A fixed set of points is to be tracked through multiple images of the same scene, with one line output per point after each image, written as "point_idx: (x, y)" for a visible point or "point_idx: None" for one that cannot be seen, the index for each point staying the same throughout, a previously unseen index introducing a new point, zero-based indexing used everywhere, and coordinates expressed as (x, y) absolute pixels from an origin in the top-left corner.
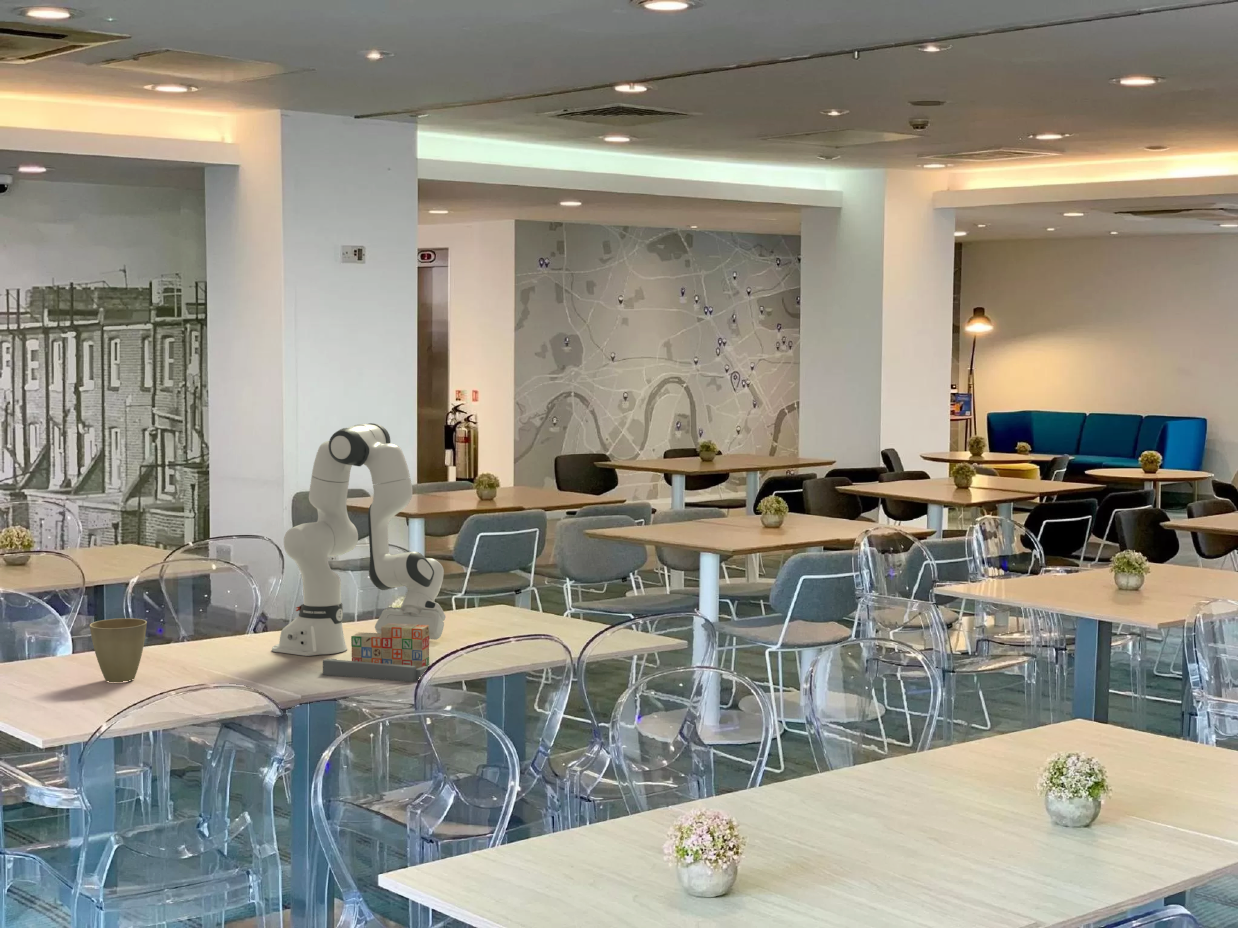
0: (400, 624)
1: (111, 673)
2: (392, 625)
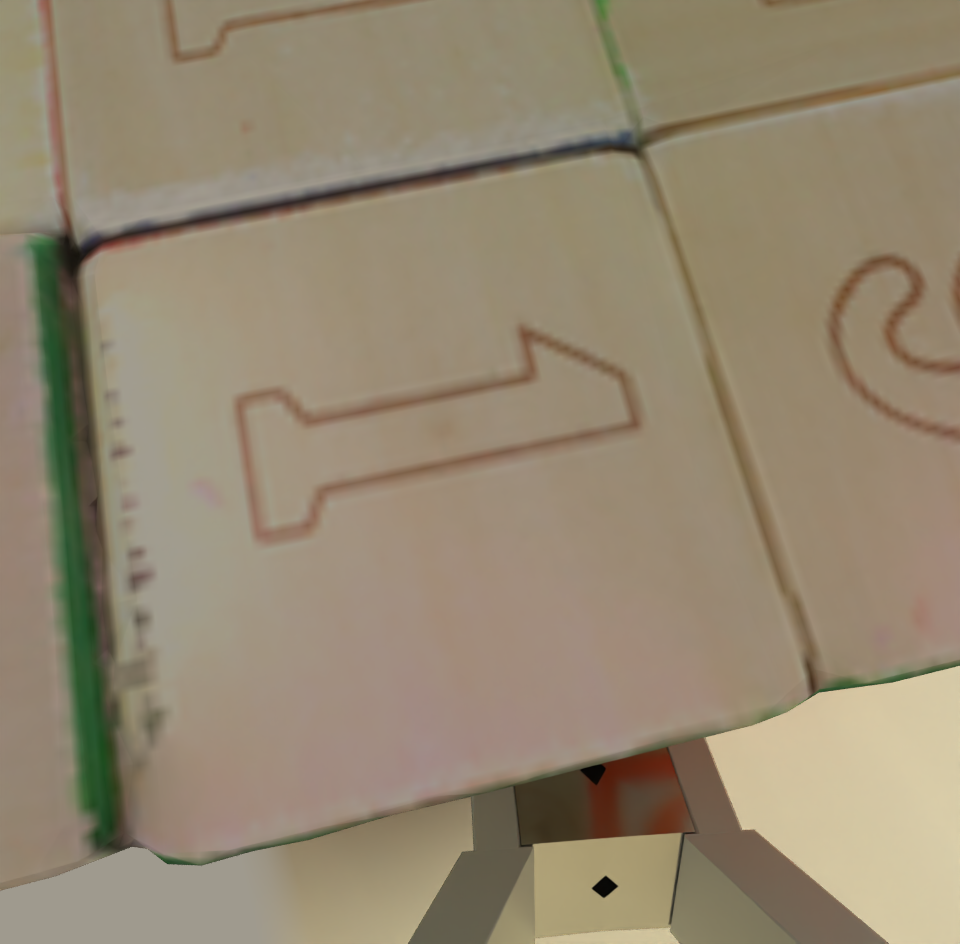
0: (511, 458)
1: None
2: (727, 62)
